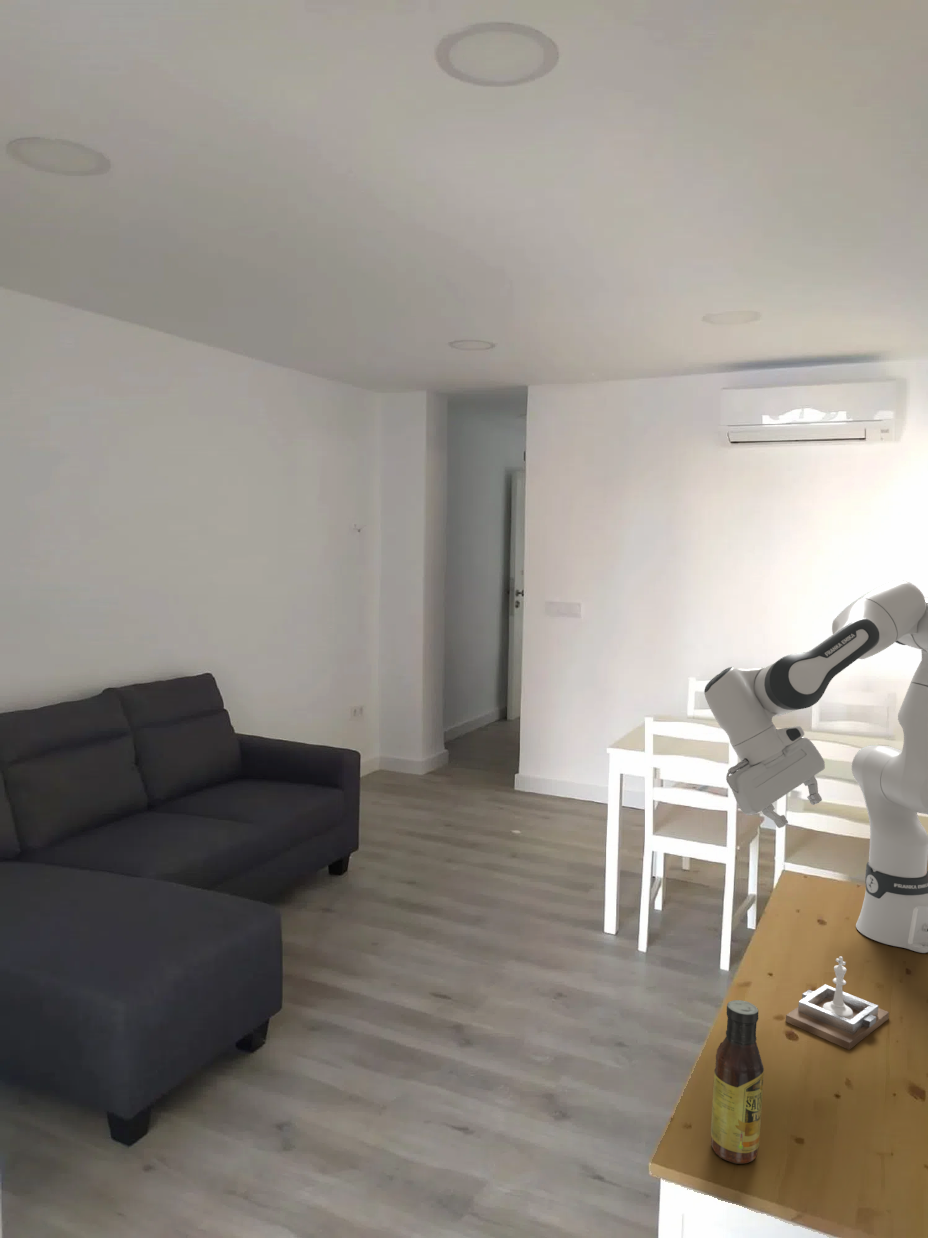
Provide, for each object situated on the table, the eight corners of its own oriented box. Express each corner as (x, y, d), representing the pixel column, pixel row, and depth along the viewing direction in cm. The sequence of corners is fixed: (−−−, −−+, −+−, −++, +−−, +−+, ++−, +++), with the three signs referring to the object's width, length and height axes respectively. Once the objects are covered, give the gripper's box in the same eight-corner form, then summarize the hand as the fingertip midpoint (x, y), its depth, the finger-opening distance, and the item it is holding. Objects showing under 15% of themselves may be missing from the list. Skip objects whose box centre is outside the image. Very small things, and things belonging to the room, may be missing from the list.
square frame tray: (791, 1008, 155) (792, 998, 154) (818, 991, 161) (818, 982, 161) (859, 1038, 146) (860, 1027, 146) (884, 1018, 152) (885, 1008, 152)
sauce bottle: (751, 1174, 115) (760, 1026, 113) (703, 1155, 118) (711, 1012, 117) (764, 1145, 121) (772, 1004, 119) (718, 1128, 124) (725, 991, 122)
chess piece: (839, 1023, 150) (842, 966, 149) (815, 1009, 155) (819, 953, 154) (859, 1017, 152) (863, 960, 152) (835, 1003, 157) (839, 948, 156)
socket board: (785, 1021, 153) (786, 1015, 152) (827, 994, 163) (827, 987, 162) (849, 1050, 144) (849, 1043, 144) (888, 1019, 154) (889, 1012, 154)
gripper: (731, 769, 163) (772, 838, 160) (806, 722, 171) (846, 787, 169) (713, 776, 169) (752, 842, 166) (786, 730, 177) (825, 793, 174)
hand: (800, 814), depth 167 cm, fingers open, 8 cm apart
